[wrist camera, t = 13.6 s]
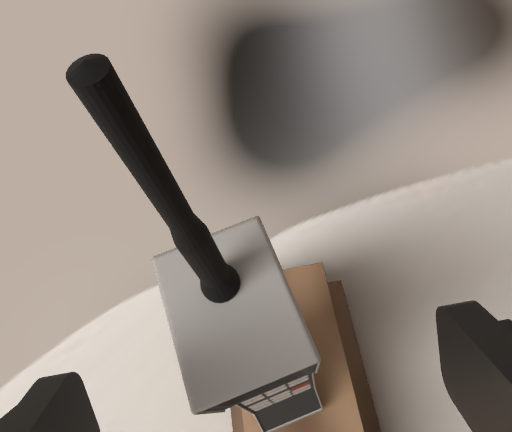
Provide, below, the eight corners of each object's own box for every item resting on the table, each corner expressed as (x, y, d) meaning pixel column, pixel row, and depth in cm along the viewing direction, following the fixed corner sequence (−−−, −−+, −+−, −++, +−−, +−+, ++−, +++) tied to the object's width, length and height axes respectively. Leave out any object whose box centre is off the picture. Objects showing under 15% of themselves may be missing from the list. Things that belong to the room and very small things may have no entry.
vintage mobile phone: (266, 435, 25) (-72, 350, 4) (239, 355, 28) (-58, 23, 6) (323, 411, 26) (320, 195, 4) (291, 333, 28) (183, -62, 6)
